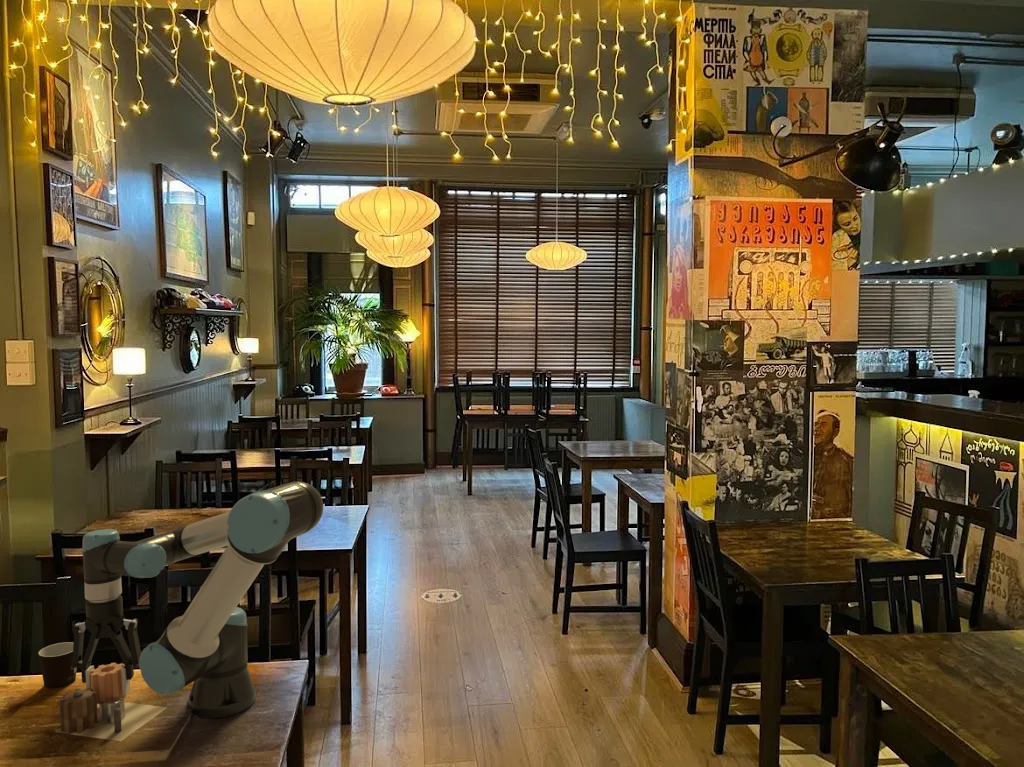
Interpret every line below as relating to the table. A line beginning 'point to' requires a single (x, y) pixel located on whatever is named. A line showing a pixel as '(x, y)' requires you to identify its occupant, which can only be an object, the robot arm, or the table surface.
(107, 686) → the planet gear
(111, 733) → the carrier
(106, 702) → the sun gear
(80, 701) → the pinned planet gear
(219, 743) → the table surface
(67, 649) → the coffee mug
